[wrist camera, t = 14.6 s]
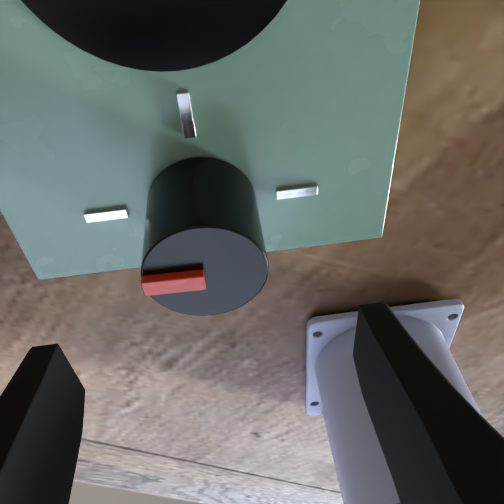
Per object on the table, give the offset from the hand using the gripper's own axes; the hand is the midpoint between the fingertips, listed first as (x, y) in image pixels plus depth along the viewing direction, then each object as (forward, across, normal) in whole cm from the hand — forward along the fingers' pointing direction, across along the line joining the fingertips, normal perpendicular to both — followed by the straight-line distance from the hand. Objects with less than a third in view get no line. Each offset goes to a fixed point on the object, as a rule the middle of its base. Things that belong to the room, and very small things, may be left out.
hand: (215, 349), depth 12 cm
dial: (+6, 0, 0) cm, 6 cm away
